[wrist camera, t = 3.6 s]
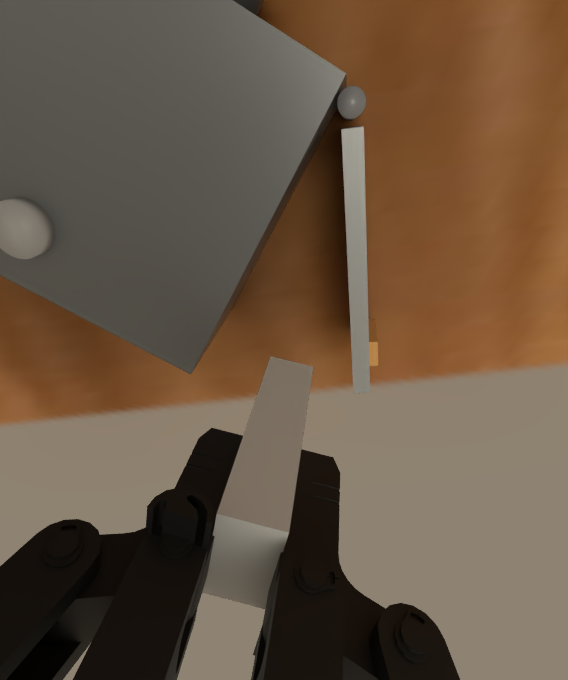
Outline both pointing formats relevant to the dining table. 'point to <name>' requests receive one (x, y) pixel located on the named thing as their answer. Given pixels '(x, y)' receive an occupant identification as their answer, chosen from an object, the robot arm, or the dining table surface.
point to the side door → (358, 259)
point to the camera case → (152, 157)
